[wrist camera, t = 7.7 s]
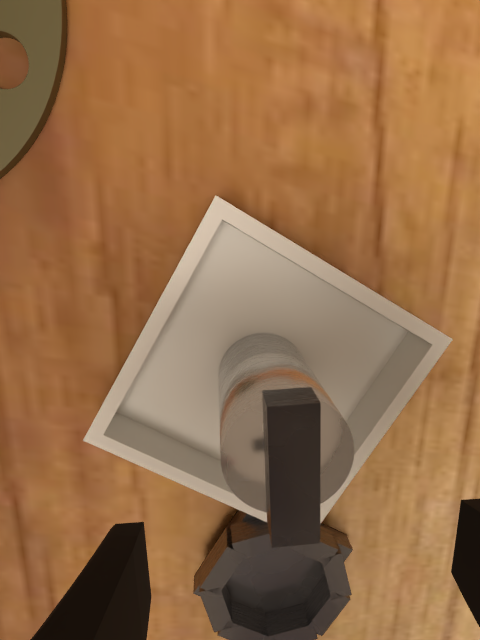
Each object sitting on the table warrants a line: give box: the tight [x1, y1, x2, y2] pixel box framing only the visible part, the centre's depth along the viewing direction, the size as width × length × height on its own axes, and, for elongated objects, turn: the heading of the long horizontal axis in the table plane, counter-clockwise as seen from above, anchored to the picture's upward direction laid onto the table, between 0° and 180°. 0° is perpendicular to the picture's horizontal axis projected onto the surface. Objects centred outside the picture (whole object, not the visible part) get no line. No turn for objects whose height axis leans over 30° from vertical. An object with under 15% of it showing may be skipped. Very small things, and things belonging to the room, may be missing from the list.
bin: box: [83, 196, 453, 524], centre depth 17 cm, size 11×11×2 cm
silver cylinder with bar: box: [218, 333, 354, 548], centre depth 14 cm, size 4×4×7 cm
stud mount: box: [193, 510, 353, 640], centre depth 20 cm, size 7×7×2 cm
